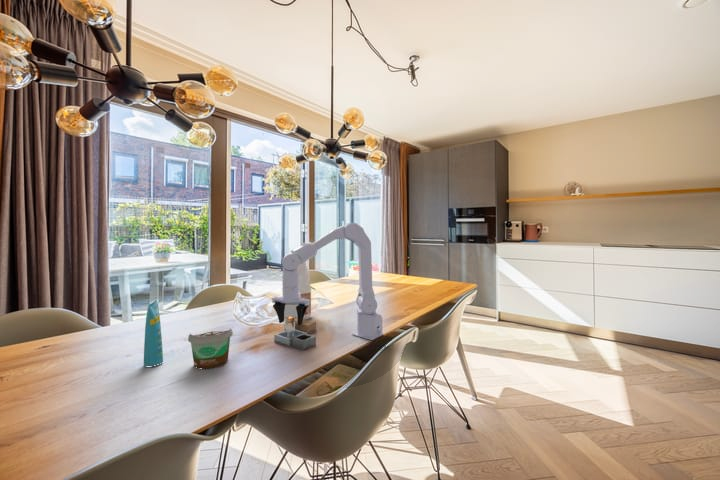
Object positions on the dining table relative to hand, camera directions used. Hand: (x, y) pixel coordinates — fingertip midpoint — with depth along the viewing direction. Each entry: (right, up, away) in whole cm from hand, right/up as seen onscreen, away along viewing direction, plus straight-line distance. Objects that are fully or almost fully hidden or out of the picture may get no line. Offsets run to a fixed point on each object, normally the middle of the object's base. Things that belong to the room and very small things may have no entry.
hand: (290, 323), depth 110 cm
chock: (+3, -6, +10) cm, 13 cm away
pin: (0, -6, 0) cm, 6 cm away
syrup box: (-3, -6, +15) cm, 16 cm away
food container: (-19, -7, -21) cm, 29 cm away
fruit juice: (-2, -6, +29) cm, 30 cm away
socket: (+6, -7, -5) cm, 10 cm away
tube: (-37, -7, -19) cm, 42 cm away
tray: (0, -6, 0) cm, 6 cm away
